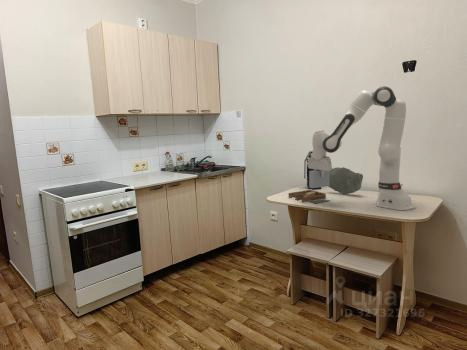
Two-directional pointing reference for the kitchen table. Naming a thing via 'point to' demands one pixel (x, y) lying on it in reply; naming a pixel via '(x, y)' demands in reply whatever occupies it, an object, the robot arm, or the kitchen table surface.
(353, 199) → the kitchen table surface
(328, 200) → the mat
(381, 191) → the robot arm
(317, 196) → the rack
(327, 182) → the blue-gray rectangular block
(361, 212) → the kitchen table surface
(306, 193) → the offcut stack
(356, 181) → the rock
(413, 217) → the kitchen table surface
